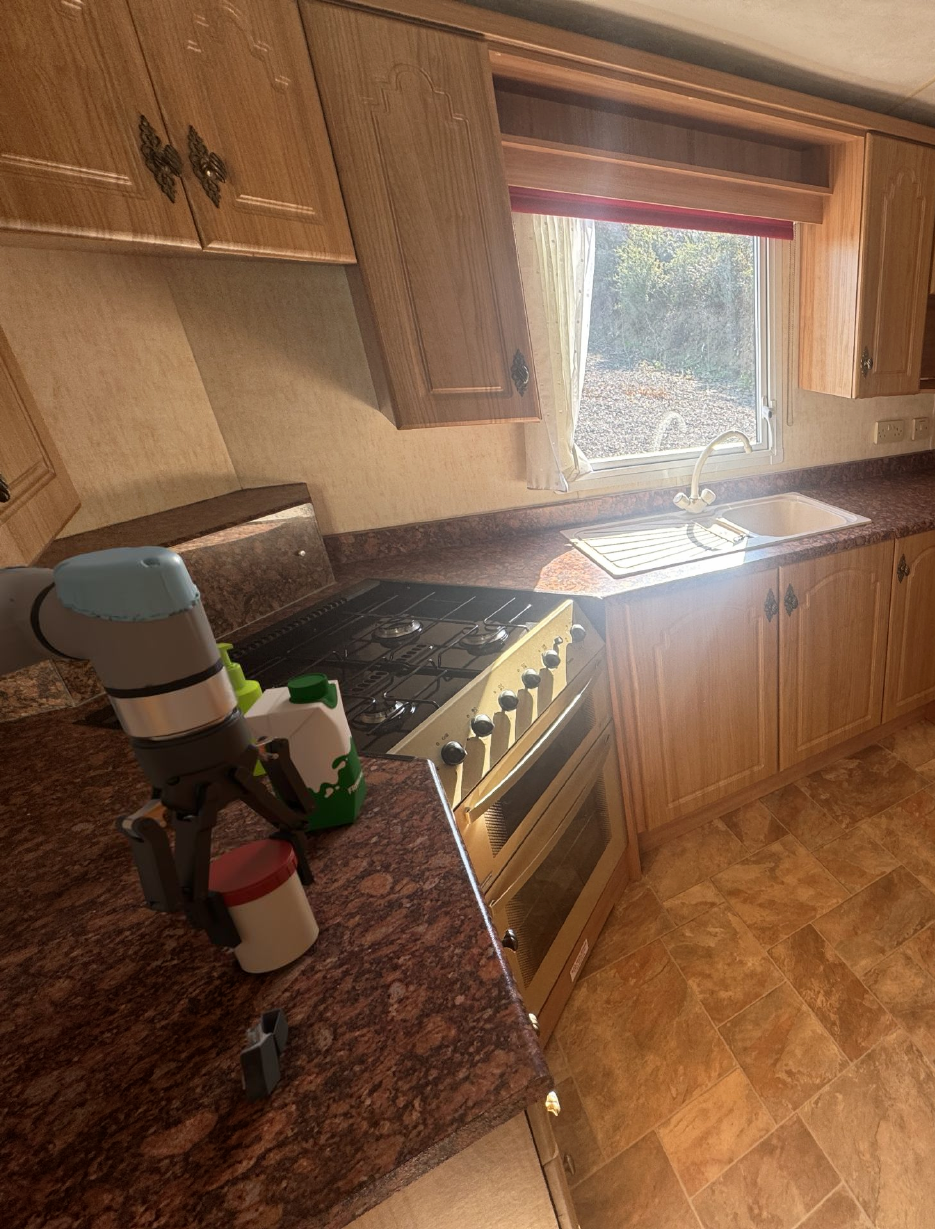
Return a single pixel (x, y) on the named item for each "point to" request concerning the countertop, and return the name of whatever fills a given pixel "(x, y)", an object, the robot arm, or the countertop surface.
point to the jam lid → (252, 871)
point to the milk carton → (314, 744)
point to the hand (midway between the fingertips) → (265, 910)
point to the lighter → (263, 1054)
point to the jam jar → (274, 928)
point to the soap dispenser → (242, 690)
